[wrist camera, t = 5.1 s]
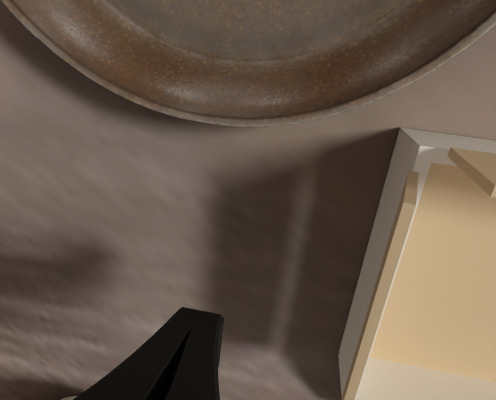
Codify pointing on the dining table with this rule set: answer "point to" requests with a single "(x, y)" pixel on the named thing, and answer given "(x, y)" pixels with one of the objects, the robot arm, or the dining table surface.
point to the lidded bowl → (69, 397)
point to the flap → (382, 283)
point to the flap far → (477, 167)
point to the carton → (430, 282)
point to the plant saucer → (255, 51)
